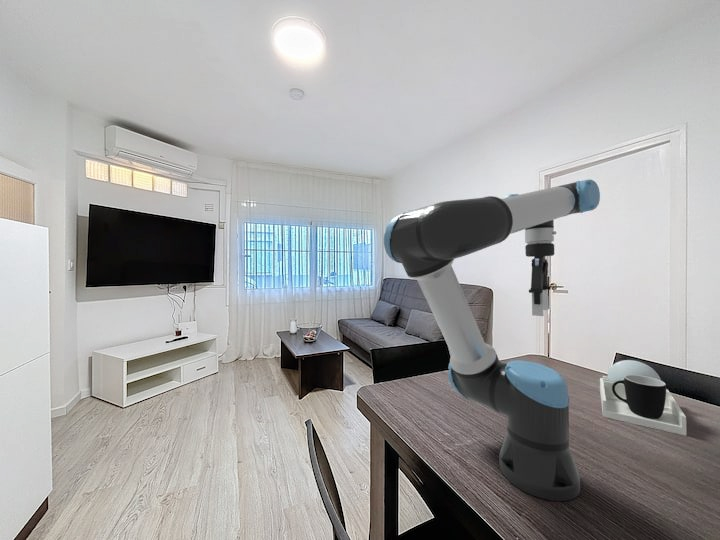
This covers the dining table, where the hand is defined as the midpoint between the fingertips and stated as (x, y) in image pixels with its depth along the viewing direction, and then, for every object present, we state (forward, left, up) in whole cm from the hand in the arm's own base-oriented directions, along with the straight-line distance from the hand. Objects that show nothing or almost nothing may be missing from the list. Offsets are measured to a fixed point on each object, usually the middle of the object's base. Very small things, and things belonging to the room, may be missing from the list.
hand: (540, 312), depth 88 cm
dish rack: (+21, -23, -32) cm, 44 cm away
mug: (+17, -23, -31) cm, 42 cm away
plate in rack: (+27, -23, -32) cm, 48 cm away
